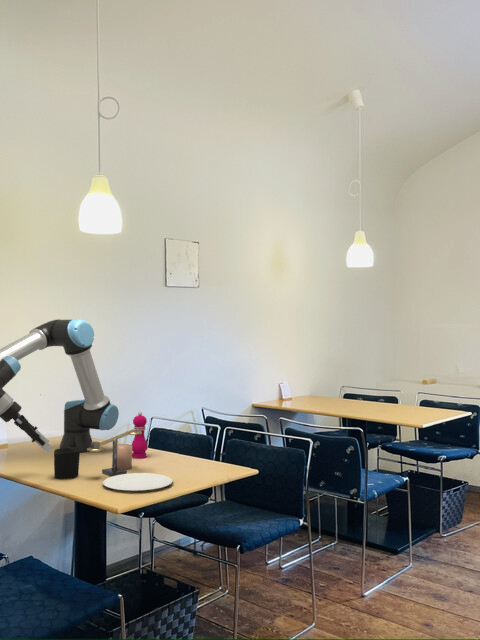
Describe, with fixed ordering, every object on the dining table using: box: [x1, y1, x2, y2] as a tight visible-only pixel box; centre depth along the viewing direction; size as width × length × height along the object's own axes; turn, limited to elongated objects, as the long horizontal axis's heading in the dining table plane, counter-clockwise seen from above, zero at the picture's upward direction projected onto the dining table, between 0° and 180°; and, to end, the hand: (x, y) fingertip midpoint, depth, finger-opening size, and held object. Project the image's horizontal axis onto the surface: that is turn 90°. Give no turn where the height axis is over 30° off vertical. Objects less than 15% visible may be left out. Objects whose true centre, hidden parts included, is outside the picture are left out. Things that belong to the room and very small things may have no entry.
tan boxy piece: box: [117, 443, 133, 471], centre depth 241 cm, size 8×8×9 cm
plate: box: [102, 472, 173, 492], centre depth 215 cm, size 25×25×2 cm
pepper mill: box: [131, 411, 149, 460], centre depth 262 cm, size 7×7×20 cm
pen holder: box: [53, 448, 81, 480], centre depth 225 cm, size 9×9×10 cm
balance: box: [87, 428, 142, 477], centre depth 231 cm, size 8×23×16 cm, turn 134°
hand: (48, 447), depth 222 cm, fingers open, 13 cm apart
